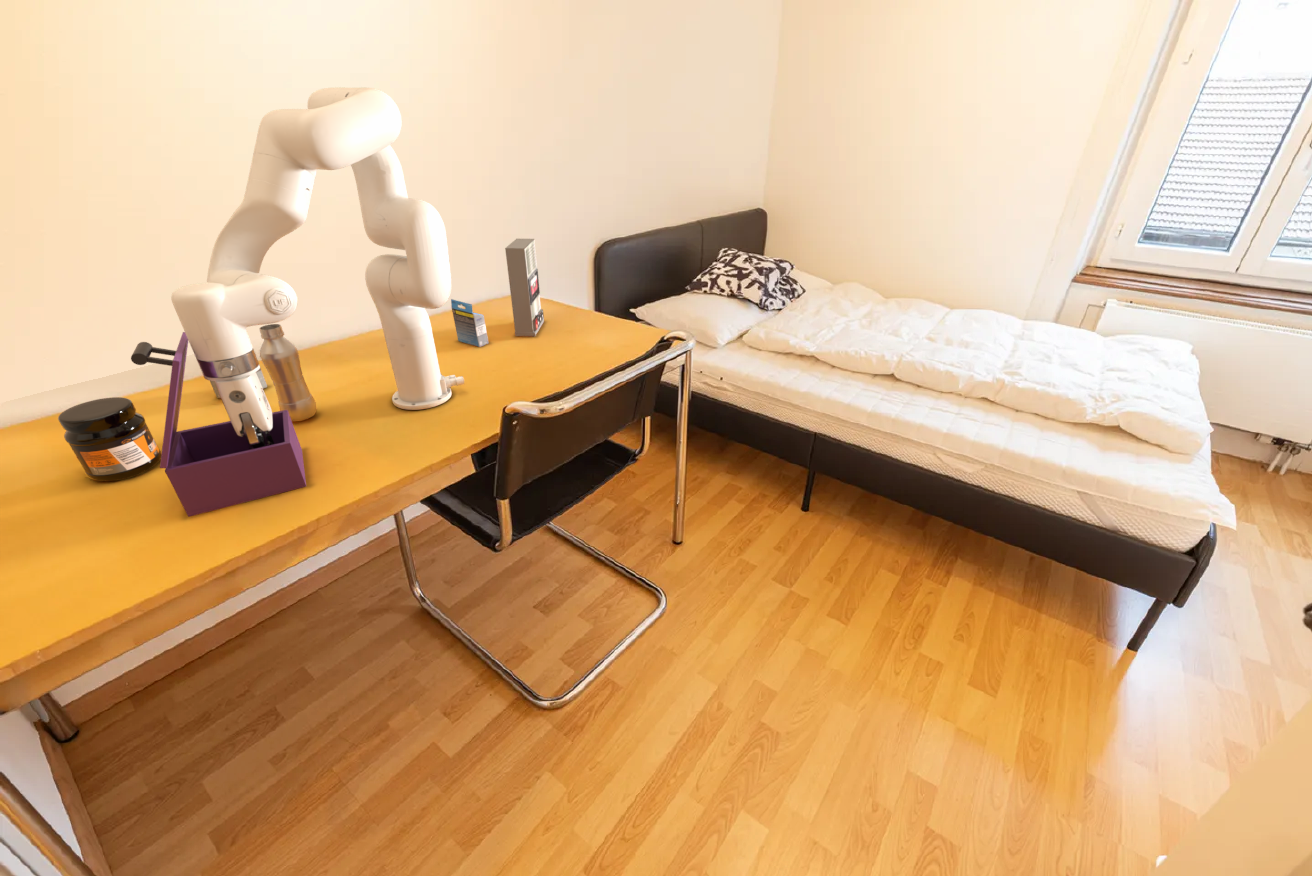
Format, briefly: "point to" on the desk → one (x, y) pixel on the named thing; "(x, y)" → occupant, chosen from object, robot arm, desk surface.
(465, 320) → the label tape box
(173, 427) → the lid
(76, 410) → the supplement container
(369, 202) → the robot arm
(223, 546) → the desk surface
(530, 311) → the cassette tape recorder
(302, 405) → the plastic bottle
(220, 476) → the box
